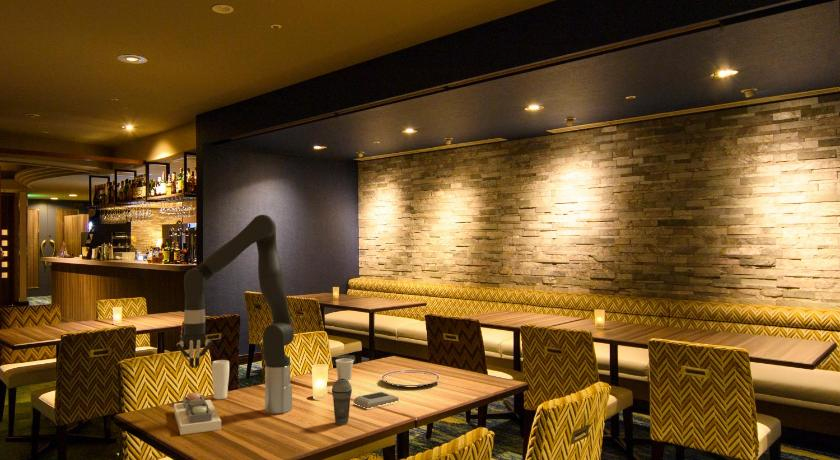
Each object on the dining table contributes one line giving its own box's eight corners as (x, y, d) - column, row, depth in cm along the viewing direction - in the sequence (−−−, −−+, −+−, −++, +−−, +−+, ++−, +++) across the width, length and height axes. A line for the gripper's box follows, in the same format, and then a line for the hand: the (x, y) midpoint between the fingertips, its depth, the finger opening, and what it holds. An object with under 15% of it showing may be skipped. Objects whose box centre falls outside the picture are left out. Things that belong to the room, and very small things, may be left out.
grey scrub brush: (398, 394, 235) (367, 401, 226) (398, 404, 235) (367, 411, 226) (384, 390, 243) (353, 396, 233) (384, 399, 242) (353, 405, 233)
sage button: (191, 414, 204) (192, 406, 204) (205, 412, 206) (205, 405, 206) (193, 417, 200) (193, 410, 200) (207, 415, 202) (207, 408, 202)
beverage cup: (343, 427, 204) (343, 369, 204) (327, 423, 208) (327, 367, 208) (356, 422, 210) (356, 365, 211) (340, 418, 214) (340, 363, 214)
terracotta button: (186, 400, 222) (186, 393, 222) (199, 398, 224) (199, 392, 224) (187, 403, 218) (187, 396, 218) (201, 401, 220) (201, 394, 220)
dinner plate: (441, 390, 255) (441, 383, 256) (378, 390, 256) (378, 382, 256) (439, 376, 283) (439, 369, 283) (383, 376, 283) (383, 369, 283)
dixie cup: (346, 379, 276) (346, 357, 276) (357, 382, 270) (357, 360, 270) (331, 381, 271) (331, 360, 271) (342, 385, 264) (342, 362, 265)
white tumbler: (223, 400, 238) (223, 363, 238) (208, 399, 239) (208, 362, 240) (232, 396, 245) (232, 360, 245) (217, 395, 246) (217, 359, 246)
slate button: (189, 406, 213) (189, 399, 213) (202, 405, 215) (202, 398, 215) (190, 410, 209) (190, 403, 209) (204, 408, 211) (204, 401, 211)
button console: (174, 411, 222) (174, 397, 223) (210, 407, 228) (210, 393, 228) (180, 435, 196) (180, 418, 196) (221, 429, 201) (221, 413, 201)
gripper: (212, 319, 228) (211, 364, 228) (174, 321, 222) (174, 367, 222) (214, 321, 221) (214, 367, 221) (176, 323, 215) (175, 371, 215)
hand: (194, 367), depth 221 cm, fingers closed
